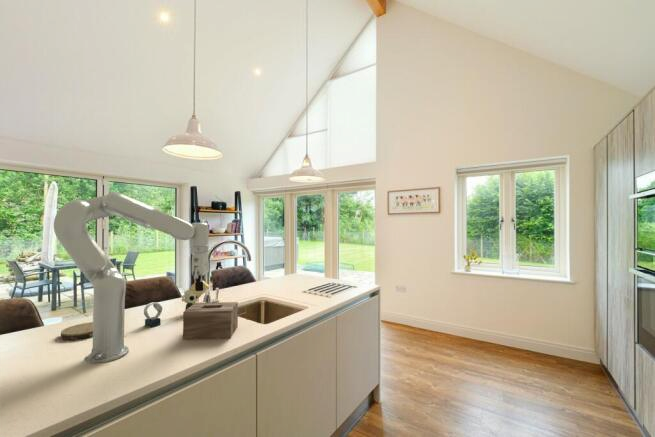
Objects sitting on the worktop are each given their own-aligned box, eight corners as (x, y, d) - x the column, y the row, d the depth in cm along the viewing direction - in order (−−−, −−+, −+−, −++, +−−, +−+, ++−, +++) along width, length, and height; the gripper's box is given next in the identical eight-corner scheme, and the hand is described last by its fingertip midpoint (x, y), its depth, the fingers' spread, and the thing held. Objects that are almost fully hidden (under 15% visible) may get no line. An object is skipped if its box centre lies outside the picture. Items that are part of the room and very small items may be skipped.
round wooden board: (53, 337, 127) (54, 330, 127) (96, 326, 141) (96, 319, 141) (71, 344, 120) (71, 337, 120) (113, 331, 134) (113, 325, 134)
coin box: (230, 338, 126) (230, 310, 126) (182, 339, 124) (183, 311, 124) (237, 326, 140) (237, 301, 140) (194, 328, 138) (195, 302, 138)
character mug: (185, 317, 153) (185, 293, 154) (177, 315, 157) (178, 291, 157) (203, 312, 163) (204, 289, 163) (196, 310, 166) (196, 287, 167)
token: (198, 297, 130) (208, 287, 131) (188, 288, 130) (198, 278, 130) (200, 295, 133) (210, 286, 133) (190, 287, 132) (200, 277, 133)
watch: (164, 323, 144) (164, 301, 144) (147, 328, 137) (148, 305, 137) (157, 321, 147) (157, 300, 147) (141, 326, 140) (141, 303, 140)
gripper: (202, 251, 124) (203, 294, 124) (213, 247, 140) (213, 285, 140) (184, 251, 123) (185, 295, 123) (196, 248, 139) (197, 286, 139)
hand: (200, 289), depth 131 cm, fingers closed on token, 2 cm apart
